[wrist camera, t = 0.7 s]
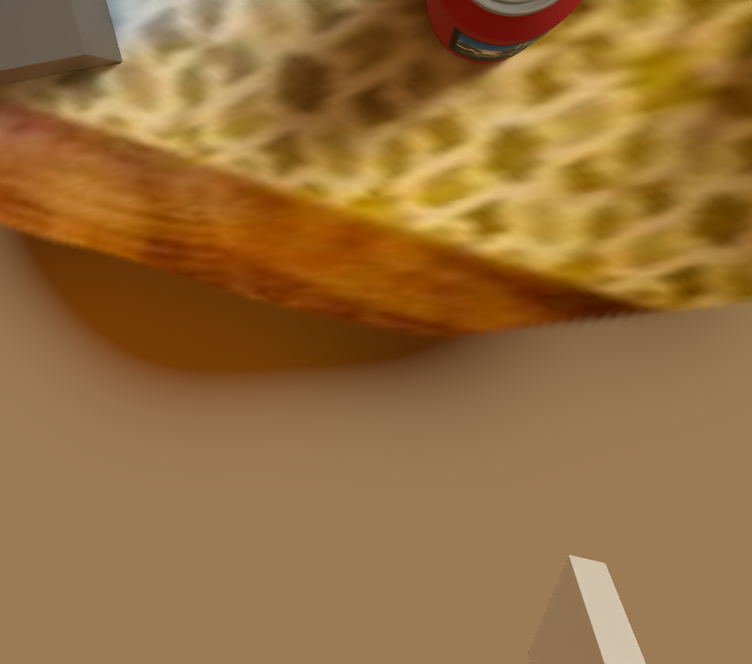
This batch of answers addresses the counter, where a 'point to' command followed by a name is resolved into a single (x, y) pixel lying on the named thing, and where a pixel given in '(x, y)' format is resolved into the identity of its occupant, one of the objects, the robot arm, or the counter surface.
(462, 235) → the counter surface
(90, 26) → the camera body
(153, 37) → the counter surface
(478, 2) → the beverage can
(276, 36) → the counter surface
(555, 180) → the counter surface
